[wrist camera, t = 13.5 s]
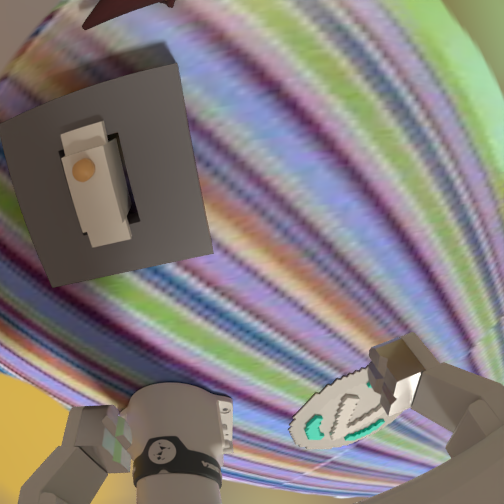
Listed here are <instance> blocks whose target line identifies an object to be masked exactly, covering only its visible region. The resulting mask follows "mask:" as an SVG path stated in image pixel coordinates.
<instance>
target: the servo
mask: <svg viewBox="0 0 504 504" xmlns="http://www.w3.org/2000/svg"><path fill="white" fill-rule="evenodd" d="M61 140H62V144H63V148H64V153H65V156H64V157H63V158H61V159H62V163H63V167H64V171H65V175H66V179H67V182H68V186H69V190H70V193H71V196H72V200H73V203H74V207H75V210H76V213H77V216H78V219H79V222H80V226H81V229H82V232H83V233H84V232H87V233H88V236H89V239H90V242H91V245H92V248H93V247H98V246H102V245H107V244H111V243H116V242H120V241H125V240H129V239H131V237H132V234H131V230H130V227H129V223H128V220H127V214H128V212H129V210H130V208H131V206H132V203H131V199H130V195H129V191H128V187H127V183H126V179H125V175H124V171H123V166H122V162H121V157H120V153H119V148H118V144H117V139H116V138H114V139H111V140H108V139H107V134H106V129H105V124H104V121H101V122H98V123H94V124H91V125H88V126H85V127H81V128H78V129H75V130H72V131H69V132H66V133H63V134H61Z"/></svg>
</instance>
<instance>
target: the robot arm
mask: <svg viewBox="0 0 504 504" xmlns="http://www.w3.org/2000/svg"><path fill="white" fill-rule="evenodd" d="M369 357H370V359H371V360H372V361H371V362H370V363H369V365H368V370H367V373H368V379H369V382H370V385H371V387H372V389H373V391H374V392H376V393H378V394H380V395H381V398H380V403H381V405H382V407H383V408H384V410H385V412H386V414H387V415H388V416H391V415H394V414H396V413H399V412H401V411H404V410H406V409H408V408H411V409H413V410H414V411H416V412H418V413H420V414H421V415H423V416H425V417H426V418H428V419H430V420H432V421H433V422H435V423H437V424H439V425H440V426H442V427H444V428H446V429H447V430H449V431H451V432H453V435H452V436H451V438H450V440H449V441H448V443H447V445H446V450H447V452H448V453H449V455H450V457H451V459H450V460H448V461H446V462H445V463H443V464H441V465H439V466H437V467H435V468H434V469H432V470H430V471H428V472H426V473H424V474H422V475H420V476H418V477H416V478H414V479H412V480H410V481H408V482H405V483H403V484H401V485H399V486H397V487H394V488H392V489H390V490H387V491H385V492H383V493H380V494H378V495H375V496H373V497H370V498H368V499H365V500H362V501H360V502H357V503H354V504H504V386H503V385H502V384H501V383H498V382H495V381H492V380H490V379H487V378H484V377H481V376H479V375H476V374H473V373H471V372H468V371H465V370H463V369H460V368H457V367H455V366H452V365H449V364H447V363H444V362H443V363H441V364H440V363H439V362H438V361H437V359H436V358H435V357H434V356H433V354H432V353H431V352H430V351H429V350H428V348H427V347H426V346H425V345H424V344H423V342H422V341H421V340H420V339H419V338H418V336H417V335H416V334H415V333H413V332H411V333H409V334H406V335H404V336H401V337H399V338H395V339H392V340H390V341H387V342H384V343H382V344H379V345H376V346H374V347H371V349H370V350H369ZM118 413H119V411H118V409H117V408H116V407H115V406H114V405H101V406H82V407H73V408H72V409H71V410H70V412H69V417H68V420H67V424H66V428H65V432H64V437H63V441H62V445H61V446H58V447H57V448H56V449H55V450H54V451H53V452H52V453H51V455H50V456H49V457H48V458H47V459H46V460H45V461H44V462H43V463H42V464H41V466H40V467H39V468H38V469H37V470H36V471H35V472H34V473H33V475H32V476H31V477H30V478H29V479H28V480H27V481H26V482H25V483H24V485H23V486H22V487H21V490H20V495H19V500H18V504H90V503H91V501H92V500H93V498H94V496H95V495H96V493H97V492H98V490H99V488H100V487H101V485H102V484H103V482H104V480H105V479H106V477H107V476H108V474H107V473H128V472H130V463H131V459H132V460H133V461H134V463H133V464H134V465H133V480H134V485H135V487H136V488H137V504H222V501H221V495H220V488H221V485H222V484H221V483H222V473H221V467H222V466H223V464H224V459H223V454H232V453H234V451H233V444H232V427H233V400H232V399H231V398H229V397H225V396H219V395H214V394H211V393H209V392H207V391H206V390H204V389H201V388H199V387H196V386H193V385H189V384H183V383H158V384H153V385H149V386H146V387H144V388H142V389H140V390H138V391H137V392H136V393H134V394H133V396H132V397H131V399H130V401H129V404H128V406H127V408H125V409H124V410H122V411H121V412H120V414H119V416H118Z"/></svg>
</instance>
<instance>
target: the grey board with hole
mask: <svg viewBox="0 0 504 504" xmlns="http://www.w3.org/2000/svg"><path fill="white" fill-rule="evenodd" d="M101 121H104V124H105V129H106V134H107V135H110V134H113V133H117V132H118V134H119V139H120V143H121V147H122V152H123V156H124V160H125V165H126V169H127V173H128V177H129V181H130V185H131V188H132V192H133V196H134V200H135V204H136V207H137V211H138V212H135V213H131V214H127V220H128V223H129V227H130V230H131V234H132V237H131V239H129V240H125V241H120V242H116V243H111V244H107V245H102V246H98V247H93V248H92V245H91V242H90V239H89V236H88V233H87V232H84V233H83V232H82V229H81V226H80V222H79V219H78V216H77V213H76V210H75V207H74V203H73V200H72V196H71V193H70V190H69V186H68V182H67V179H66V175H65V171H64V167H63V163H62V159H61V158H63V157H64V156H65V153H64V148H63V144H62V140H61V134H63V133H66V132H69V131H72V130H75V129H78V128H81V127H85V126H88V125H91V124H94V123H98V122H101ZM0 137H1V141H2V145H3V150H4V154H5V158H6V161H7V165H8V169H9V173H10V176H11V180H12V183H13V186H14V190H15V193H16V196H17V199H18V202H19V205H20V208H21V211H22V214H23V217H24V220H25V223H26V225H27V228H28V231H29V233H30V236H31V239H32V241H33V244H34V246H35V249H36V251H37V254H38V256H39V258H40V261H41V263H42V265H43V268H44V270H45V272H46V275H47V277H48V279H49V281H50V283H51V286H52V288H54V287H58V286H63V285H68V284H72V283H77V282H82V281H86V280H91V279H95V278H100V277H105V276H109V275H114V274H119V273H124V272H128V271H133V270H138V269H142V268H147V267H152V266H157V265H161V264H166V263H171V262H175V261H180V260H185V259H190V258H195V257H199V256H204V255H209V254H214V253H213V247H212V241H211V236H210V231H209V226H208V222H207V217H206V212H205V207H204V202H203V197H202V192H201V187H200V182H199V177H198V172H197V167H196V162H195V157H194V151H193V146H192V141H191V136H190V130H189V125H188V119H187V114H186V108H185V102H184V96H183V91H182V85H181V79H180V73H179V67H178V64H177V63H175V64H170V65H165V66H161V67H157V68H152V69H148V70H144V71H140V72H137V73H133V74H129V75H125V76H122V77H118V78H115V79H112V80H108V81H105V82H102V83H99V84H96V85H93V86H90V87H87V88H84V89H81V90H78V91H75V92H73V93H70V94H67V95H64V96H62V97H59V98H57V99H54V100H52V101H49V102H47V103H44V104H42V105H40V106H37V107H35V108H33V109H30V110H28V111H26V112H24V113H21V114H19V115H17V116H15V117H13V118H11V119H9V120H7V121H5V122H3V123H1V124H0Z"/></svg>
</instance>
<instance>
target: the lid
mask: <svg viewBox="0 0 504 504" xmlns="http://www.w3.org/2000/svg"><path fill="white" fill-rule="evenodd" d="M367 370H368V366H367V367H366V368H361V369H360V371H355V372H354V373H353V374H351V373H349V374H348V375H347V376H343V377H342V378H341V379H338V378H337V379H336V380H335V381H334V382H333V383H332V384H331V385H330V384H327V385H326V387H325V388H324V389H323V390H322V391H321V392H320V393H315V394H314V395H313V396H312V397H311V398H310V399H309V400H308V402H307V403H306V404H305V405H304V406H303V407H302V408H301V409H300V410H299V411H298V412H297V413H296V414H295V415H294V416H293V418H295V419H294V420H293V421H292V422H291V423H290V424H289V426H291V427H290V428H289V429H288V431H290V432H289V433H291V434H290V435H291V436H292V438H293V440H294V442H295V444H298V445H299V447H306V449H331V448H332V447H341V446H342V445H348V444H350V443H353V442H357V441H358V440H361V439H362V438H366V437H367V436H370V435H371V434H375V433H376V432H377V431H378V430H381V429H382V428H383V427H385V426H386V425H387V424H390V423H391V422H392V421H393V420H394V419H395V418H396V417H397V416H399V415H400V414H401V413H402V412H403V411H401V412H399V413H396V414H394V415H391V416H388V415H387V414H386V412H385V410H384V408H383V407H382V405H381V403H380V398H381V395H380V394H378V393H376V392H374V391H373V389H372V387H371V385H370V382H369V379H368V373H367Z"/></svg>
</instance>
